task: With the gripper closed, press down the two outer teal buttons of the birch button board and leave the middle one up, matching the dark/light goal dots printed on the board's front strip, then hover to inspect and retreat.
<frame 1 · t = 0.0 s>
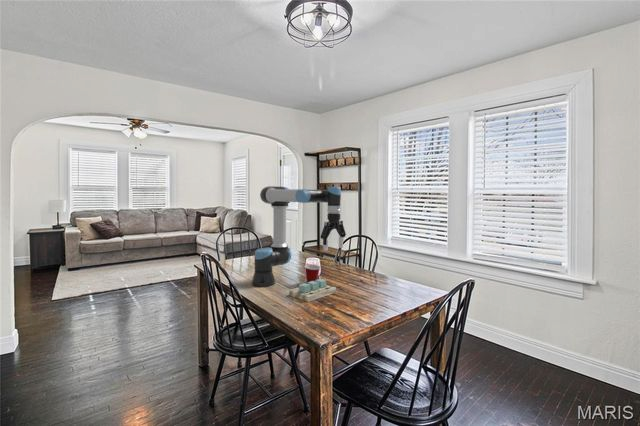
hand: (333, 249, 187), 28 cm above the table, fingers open, 13 cm apart
button c: (320, 283, 197), point 5 cm above the table, slide at 0.0 cm
button a: (304, 288, 187), point 5 cm above the table, slide at 0.0 cm
button b: (312, 285, 192), point 5 cm above the table, slide at 0.0 cm
board: (312, 293, 192), on the table
plastic cup: (312, 284, 214), on the table
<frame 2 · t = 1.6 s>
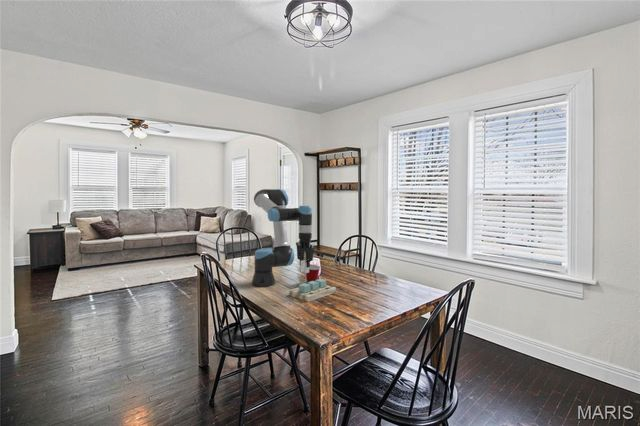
hand: (304, 272, 186), 15 cm above the table, fingers open, 3 cm apart
nothing on the table moved.
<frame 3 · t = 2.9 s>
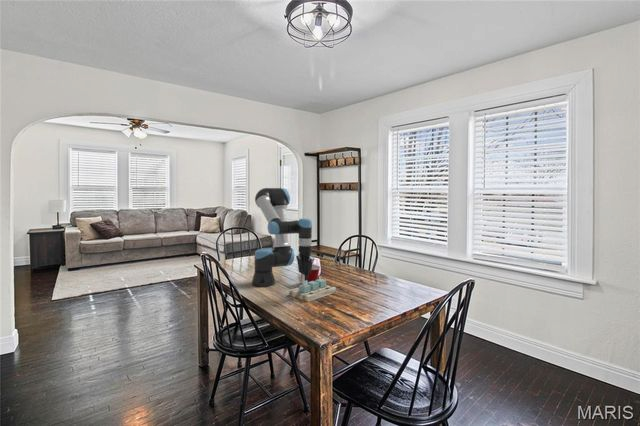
hand: (304, 285, 187), 7 cm above the table, fingers closed
button a: (304, 288, 187), point 5 cm above the table, slide at 0.5 cm, touching gripper
everything else where it was.
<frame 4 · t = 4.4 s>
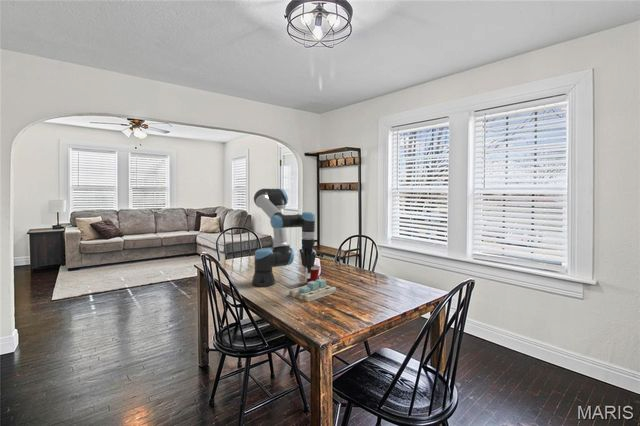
hand: (307, 278, 188), 10 cm above the table, fingers closed
button a: (304, 291, 187), point 3 cm above the table, slide at 2.0 cm
everything else where it was.
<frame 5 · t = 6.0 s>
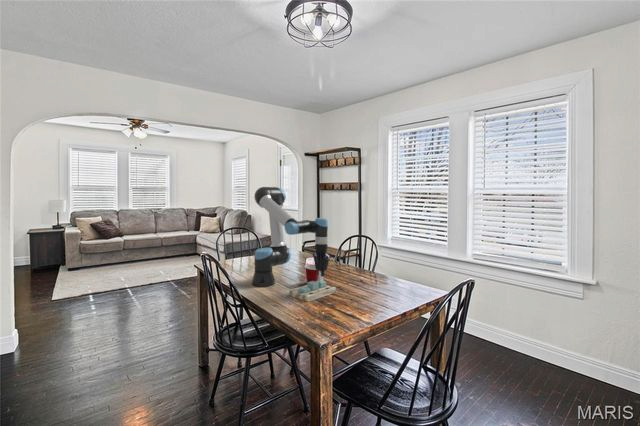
hand: (321, 281, 197), 6 cm above the table, fingers closed
button c: (320, 284, 197), point 4 cm above the table, slide at 0.9 cm, touching gripper
everything else where it was.
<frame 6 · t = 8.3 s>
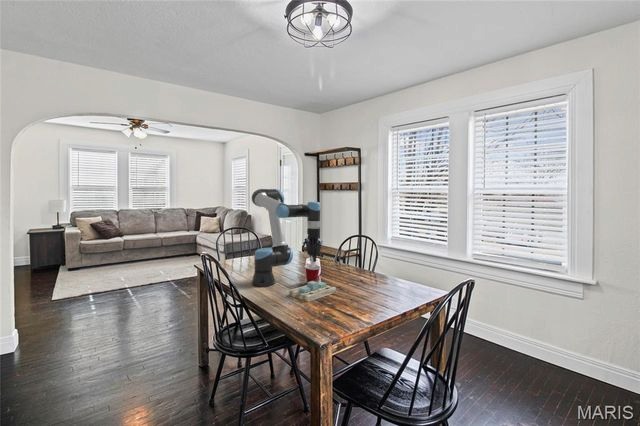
hand: (313, 266, 191), 16 cm above the table, fingers closed
button c: (320, 286, 197), point 3 cm above the table, slide at 2.0 cm
everything else where it was.
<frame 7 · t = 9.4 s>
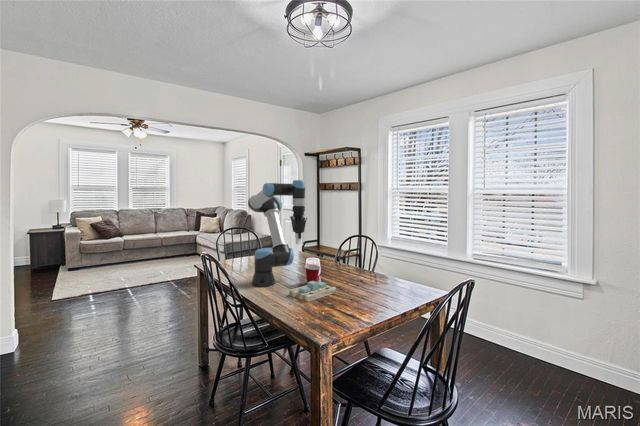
hand: (298, 243, 197), 29 cm above the table, fingers closed
nothing on the table moved.
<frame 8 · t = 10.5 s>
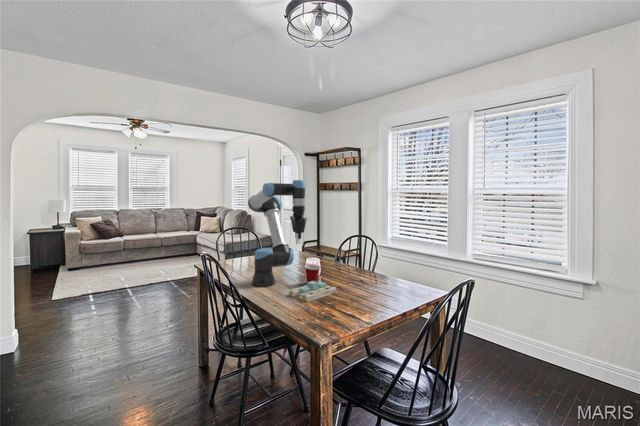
hand: (298, 243, 197), 29 cm above the table, fingers closed
nothing on the table moved.
at the end: button a slide at 2.0 cm; button c slide at 2.0 cm; button b slide at 0.0 cm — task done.
